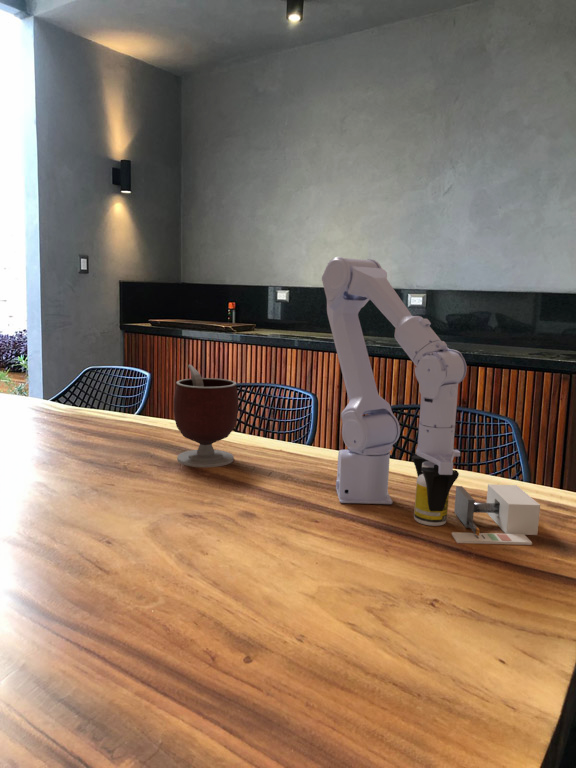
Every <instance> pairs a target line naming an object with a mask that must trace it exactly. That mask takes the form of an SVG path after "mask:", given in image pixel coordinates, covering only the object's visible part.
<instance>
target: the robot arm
mask: <svg viewBox="0 0 576 768" xmlns="http://www.w3.org/2000/svg"><path fill="white" fill-rule="evenodd" d="M322 273H323V274H322V275H321V281H322V285H323V290H324V294H325V298H326V314H327V318H328V322H329V325H330V330H331V334H332V338H333V341H334V347H335V350H336V354H337V357H338V358H337V359H338V363H339V365H340V370H341V374H342V378H343V382H344V385H345V390H346V393H347V394H346V395H347V397H348V398H347V399H348V403H347V405H346V406H345V407H344V409H343V410H342V411H341V413H340V416H341V421H342V428H341V436H342V440H343V442H344V444H345V446H346V447H347V449H340V450H339V451H338V456H337V467H336V469H337V471H336V480H335V490H336V494H337V497H338V500H339V503H341V504H369V505H370V504H373V505H392V504H393V499H392V497H391V496H390V494H389V492H388V491H389V490H388V489H389V475H390V474H389V472H390V457H391V456H390V455H391V451H392V450H393V448H394V447H393V446H394V444H396V443H397V441H398V440H399V438H400V434H401V426H400V423H399V420H398V418H397V417H396V415H394V413H393V411H392V407H391V404H390V403H389V402H388V401H387V400H386V399H384V398H383V397H382V396H381V395H380V394H379V392H378V388H377V383H376V381H375V380H376V379H375V377H374V373H373V369H372V365H371V362H370V357H369V352H368V348H367V346H366V345H367V344H366V341H365V338H364V333H363V330H362V326H361V322H360V318H359V313H360V311H361V309H362V308H364V307H365V306H366V305H367V303H368V302H369V301H371V302H372V303H373V305H374V306H375V307H376V308H377V309H378V310H379V311H380V312H381V314H382V315H383V316H384V317H385V318H386V320H388V322H390V324H391V325H392V326H393V327H394V328H395V329H394V339H395V340H396V342H397V343H398V345H399V346H400V347H401V348H402V350H403V351H404V353H406V355H407V356H408V358H409V359H410V360H411V362H412V363H413V364H414V366H415V367H414V375H415V378H416V380H417V382H418V384H419V391H418V393H420V407H419V408H420V409H419V420H418V421H419V423H418V435H417V447H416V450H415V454H414V455H412V456H411V459H412V462H413V464H414V468H415V470H416V474H417V475H416V476H417V477H418V476H419V475H421V474H423V475H424V478H425V481H426V486H427V497H428V506H429V510H430V511H443V509H444V506H445V503H446V500H447V497H448V494H449V495H450V492H451V489H452V486H453V484H454V483H455V482H456V481H457V479H458V478H459V474H460V472H458V471H457V470H456V469H454V462H453V460H454V458H455V457H456V458H457V457H461V451H460V450H458V449H454V444H455V443H454V442H455V433H456V432H455V431H456V420H457V419H456V418H457V407H458V392H459V384H460V383H461V382H463V380H464V379H465V377H466V375H467V367H468V366H467V363H466V360H465V357H464V356H463V354H462V352H460V351H458V350H456V349H451V348H449V347H448V345H447V343H446V342H445V341H444V340H441V338H440V337H439V336H438V334H436V332H435V330H433V328H432V327H431V324H432V323H431V321H430V320H429V319H428V318H423V317H422V316H421V315H412V313H411V312H410V310H409V309H408V307H407V306H406V305H405V303H404V302H403V300H402V299H401V298H400V296H399V295H398V293H397V292H396V291H395V289H394V287H393V286H392V284H391V282H390V281H389V280H388V279H387V278H388V277H387V276H388V272H387V271H386V270H385V269H383V267H382V266H381V264H380V263H379V261H377V260H376V259H369V258H367V259H361V258H360V259H358V258H347V257H342V256H336V257H333V258H331V259H330V260H329V261H328V263H327V265H326V267H325V269H324V271H323V272H322ZM426 461H430V462H432V463H434V464H435V465H434V468H431V467H422V463H423V462H426Z"/></svg>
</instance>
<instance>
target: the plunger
mask: <svg viewBox="0 0 576 768" xmlns="http://www.w3.org/2000/svg"><path fill="white" fill-rule="evenodd" d="M454 498H455V499H454V510H453V511H454V512H453V513H454V514H455V516H457V518H458V519H459V521H460V522H461V523H462V524H463V525H464V527H465V529H467V528H468V529H471V531H472V533H475V534H476V535H477V536H479V533H480V531H481V530H480V528H479V527H478V526H477V525H476V524H475V522H474V513H477V514H478V513H484V514H487V513H499V508H500V503H486V502H476V501H475V500H476V499H474V498H473V497H472V495H470V493H468V491H467V490H466V489H465V488H464V487H463V486H462V485H460V486H459V485H458V486H457V485H456V486H455V497H454Z"/></svg>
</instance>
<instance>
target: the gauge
mask: <svg viewBox="0 0 576 768" xmlns="http://www.w3.org/2000/svg"><path fill="white" fill-rule="evenodd" d="M486 493H487V494H486V502H485V503H500V508H499V513H486V514H487V515H488V516H489V517H490V518H491V520H492V521H494V522H495V524H496V525H497V526H498V527H499V528H500V529H501V530H502V532H503V533H495V532H494V533H493V532H492V533H490V532H489V533H488V532H479V536H477V535H476V534H475V533H474V532H460V531H459V532H456V531H452V532H451V536H452V538H453V539H454V541H455V542H456V543H457V544H478V545H479V544H480V545H481V544H483V545H485V544H487V545H517V546H518V545H520V546H521V545H522V546H523V545H524V546H525V545H527V546H532V545H533V542H532V541H531V540H530V539H529V537H527V536H528V535H529V536H538V531H539V530H538V529H539V522H540V521H539V520H540V513H541V512H540V511H541V504H540V503H539V502H538V501H536V500H535V499H534V498H532V496H530V495H529V494H528V493H527V492H526V491H524V490H523V489H522V488H521V487H519V486H518V485H517V484H487V491H486Z"/></svg>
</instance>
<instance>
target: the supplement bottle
mask: <svg viewBox="0 0 576 768" xmlns="http://www.w3.org/2000/svg"><path fill="white" fill-rule="evenodd" d="M434 465H435V464H434V463H432V462H430V461H426V462H423V463H422V467H431V468H434ZM449 495H450V493H449V494H448V497H447V500H446V503H445V506H444V509H443V511H430V510H429V506H428V497H427V486H426V481H425V478H424V475H423V474H421V475H419V476H418V475H417V478H416V487H415V498H414V511H413V518H414V520H415V522H417V523H419V524H421V525H424V526H429V527H430V526H431V527H438V526H443V525H445V524H446V522H447V519H448V510H449V509H448V508H449Z"/></svg>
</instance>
